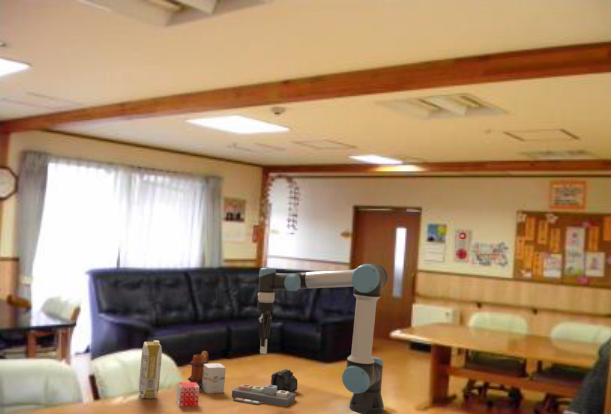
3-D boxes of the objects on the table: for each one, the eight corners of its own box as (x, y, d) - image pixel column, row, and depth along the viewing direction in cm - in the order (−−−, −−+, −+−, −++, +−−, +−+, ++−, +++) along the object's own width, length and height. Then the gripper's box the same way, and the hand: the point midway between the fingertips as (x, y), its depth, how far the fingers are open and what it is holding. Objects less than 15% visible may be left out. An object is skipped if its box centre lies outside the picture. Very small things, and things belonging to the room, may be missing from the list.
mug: (201, 389, 280) (204, 356, 280) (185, 386, 281) (187, 354, 282) (212, 382, 294) (215, 351, 294) (196, 379, 296) (199, 349, 296)
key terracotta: (251, 393, 276) (252, 385, 276) (247, 395, 272) (248, 387, 272) (242, 391, 278) (243, 383, 278) (238, 394, 273) (239, 385, 273)
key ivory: (288, 399, 271) (289, 391, 271) (285, 402, 266) (286, 393, 266) (279, 398, 272) (279, 389, 272) (275, 400, 268) (276, 392, 268)
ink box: (201, 388, 281) (203, 363, 281) (218, 387, 284) (220, 362, 285) (206, 393, 273) (208, 367, 274) (224, 392, 277) (226, 367, 277)
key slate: (276, 393, 273) (277, 385, 273) (273, 396, 268) (273, 387, 268) (267, 392, 274) (267, 383, 274) (263, 394, 270) (264, 386, 270)
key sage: (264, 395, 274) (264, 387, 275) (260, 397, 270) (260, 389, 270) (254, 393, 276) (255, 385, 276) (250, 396, 271) (251, 387, 272)
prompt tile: (261, 403, 264) (261, 401, 264) (258, 405, 261) (258, 403, 261) (236, 399, 268) (236, 397, 268) (233, 400, 265) (233, 398, 265)
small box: (176, 401, 258) (177, 382, 259) (194, 400, 261) (196, 382, 261) (179, 406, 251) (180, 387, 251) (197, 406, 254) (199, 387, 254)
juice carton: (158, 399, 259) (163, 342, 260) (139, 399, 256) (144, 342, 257) (155, 393, 268) (160, 338, 269) (137, 393, 265) (142, 338, 266)
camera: (266, 390, 287) (268, 369, 288) (274, 385, 296) (276, 365, 297) (292, 394, 283) (294, 373, 283) (299, 390, 292) (301, 369, 292)
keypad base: (295, 400, 274) (295, 393, 274) (286, 406, 262) (286, 399, 262) (242, 391, 282) (242, 384, 282) (231, 397, 270) (232, 390, 270)
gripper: (263, 299, 285) (260, 350, 284) (253, 302, 272) (250, 354, 271) (278, 300, 283) (275, 351, 281) (268, 303, 270) (265, 356, 269)
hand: (263, 353), depth 276 cm, fingers closed
